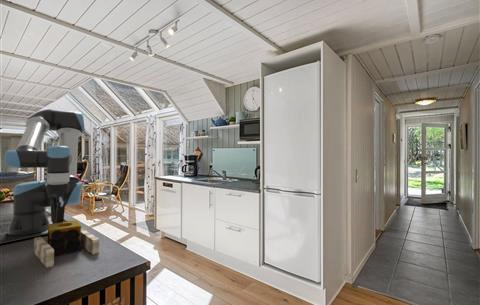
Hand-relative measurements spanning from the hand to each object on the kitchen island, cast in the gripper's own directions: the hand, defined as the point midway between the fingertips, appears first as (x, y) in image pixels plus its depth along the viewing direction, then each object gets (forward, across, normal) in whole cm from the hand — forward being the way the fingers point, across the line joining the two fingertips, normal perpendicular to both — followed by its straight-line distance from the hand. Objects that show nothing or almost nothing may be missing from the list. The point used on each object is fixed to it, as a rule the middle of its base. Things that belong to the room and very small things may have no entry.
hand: (56, 239), depth 100 cm
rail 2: (+2, +13, +7) cm, 15 cm away
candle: (+2, +9, 0) cm, 9 cm away
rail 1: (+2, +13, -7) cm, 15 cm away
